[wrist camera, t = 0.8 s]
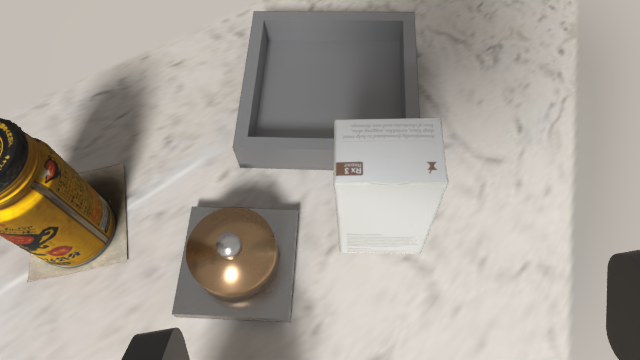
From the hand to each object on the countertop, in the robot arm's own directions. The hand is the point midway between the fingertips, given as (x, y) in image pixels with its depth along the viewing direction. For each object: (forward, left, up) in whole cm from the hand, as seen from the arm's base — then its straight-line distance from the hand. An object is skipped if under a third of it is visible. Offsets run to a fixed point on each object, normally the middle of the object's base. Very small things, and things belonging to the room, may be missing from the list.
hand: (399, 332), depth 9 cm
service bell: (-9, +9, -25) cm, 28 cm away
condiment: (-22, +12, -25) cm, 35 cm away
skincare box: (+1, +12, -25) cm, 28 cm away
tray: (-3, +24, -25) cm, 35 cm away
